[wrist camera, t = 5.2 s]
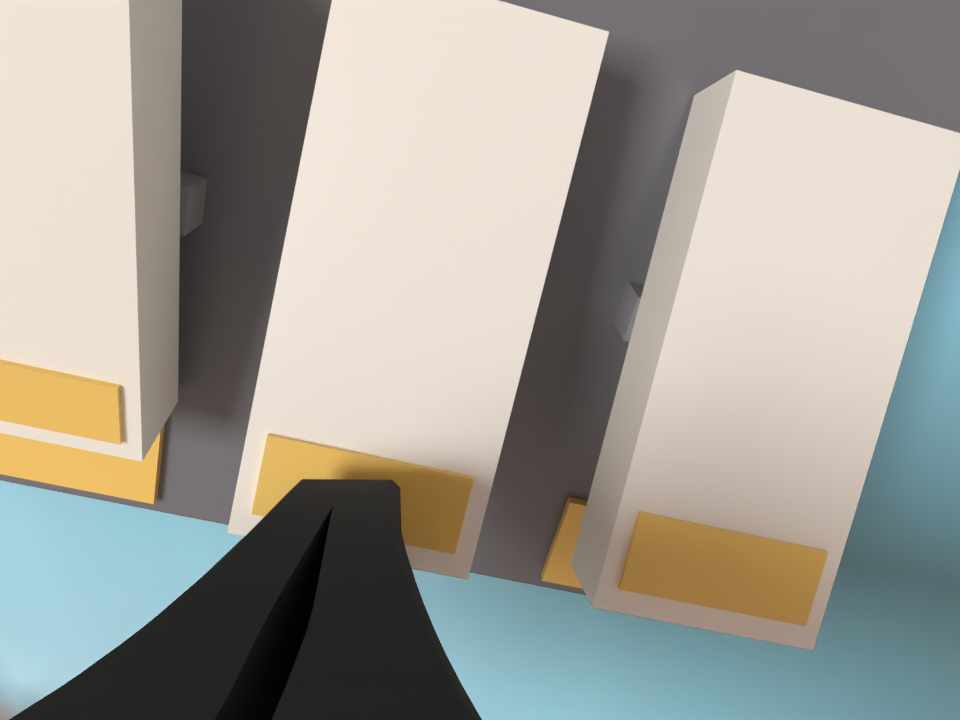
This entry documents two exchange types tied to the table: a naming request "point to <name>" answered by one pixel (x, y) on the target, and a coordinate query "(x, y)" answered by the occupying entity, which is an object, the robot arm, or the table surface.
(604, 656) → the table surface
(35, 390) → the rocker
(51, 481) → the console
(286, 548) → the robot arm
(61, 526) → the table surface
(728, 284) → the block
